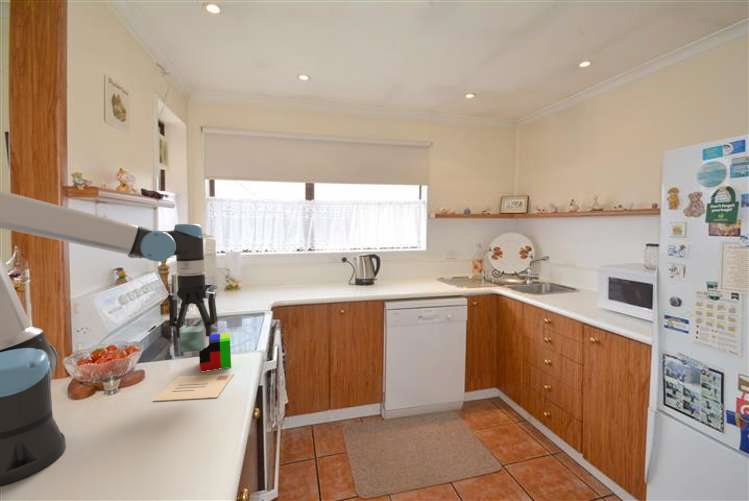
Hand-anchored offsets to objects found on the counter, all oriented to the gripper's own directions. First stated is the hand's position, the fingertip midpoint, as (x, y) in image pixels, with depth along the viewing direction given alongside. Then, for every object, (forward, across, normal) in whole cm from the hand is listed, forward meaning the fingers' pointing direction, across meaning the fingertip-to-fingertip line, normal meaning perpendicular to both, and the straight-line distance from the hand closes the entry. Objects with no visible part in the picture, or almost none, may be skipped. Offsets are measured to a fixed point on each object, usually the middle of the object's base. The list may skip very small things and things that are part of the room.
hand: (195, 346), depth 106 cm
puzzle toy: (+13, 0, +18) cm, 22 cm away
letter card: (+13, 0, 0) cm, 13 cm away
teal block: (0, 0, 0) cm, 0 cm away
